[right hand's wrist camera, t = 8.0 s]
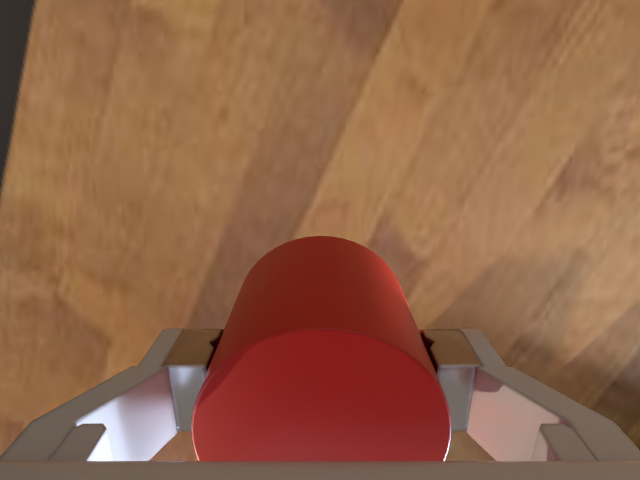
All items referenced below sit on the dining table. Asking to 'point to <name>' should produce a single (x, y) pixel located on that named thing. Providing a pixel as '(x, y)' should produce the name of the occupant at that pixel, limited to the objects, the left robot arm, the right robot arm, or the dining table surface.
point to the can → (321, 365)
